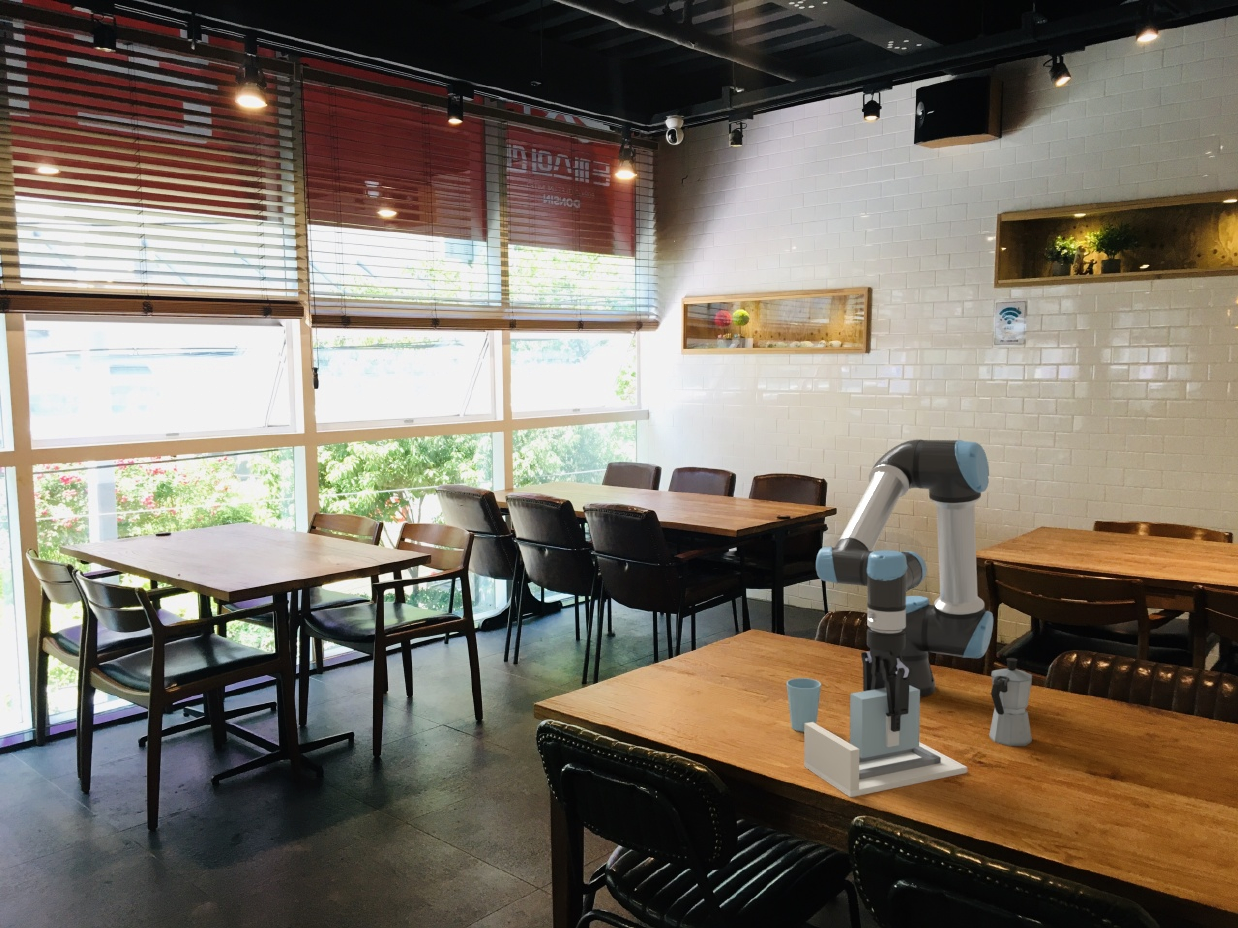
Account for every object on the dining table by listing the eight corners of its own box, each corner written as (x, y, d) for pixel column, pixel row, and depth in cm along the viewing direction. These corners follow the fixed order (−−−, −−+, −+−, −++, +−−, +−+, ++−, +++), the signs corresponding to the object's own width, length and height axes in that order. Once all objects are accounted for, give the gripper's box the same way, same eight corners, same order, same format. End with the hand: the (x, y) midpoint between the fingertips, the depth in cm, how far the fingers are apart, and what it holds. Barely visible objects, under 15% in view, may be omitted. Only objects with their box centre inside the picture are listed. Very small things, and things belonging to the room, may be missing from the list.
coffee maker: (1003, 726, 225) (1005, 648, 223) (1042, 736, 219) (1044, 656, 217) (972, 744, 215) (974, 663, 213) (1012, 755, 208) (1014, 671, 207)
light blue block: (906, 740, 206) (907, 684, 205) (919, 747, 202) (920, 689, 201) (849, 751, 201) (850, 693, 200) (861, 758, 197) (862, 699, 196)
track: (915, 745, 215) (915, 703, 214) (967, 772, 200) (967, 728, 199) (804, 766, 204) (804, 723, 204) (850, 797, 190) (850, 750, 189)
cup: (828, 730, 224) (827, 685, 223) (799, 735, 221) (799, 690, 220) (808, 719, 231) (808, 676, 230) (780, 725, 228) (780, 680, 227)
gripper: (845, 620, 206) (844, 730, 208) (897, 641, 190) (896, 759, 192) (875, 616, 209) (874, 724, 211) (929, 636, 193) (927, 753, 195)
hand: (884, 741), depth 202 cm, fingers closed on light blue block, 4 cm apart
